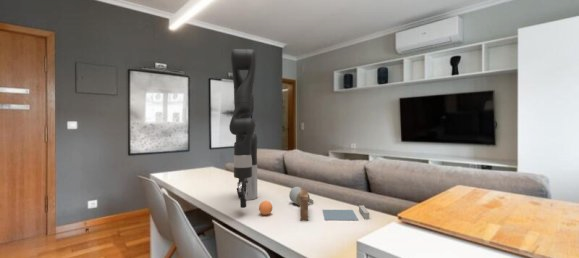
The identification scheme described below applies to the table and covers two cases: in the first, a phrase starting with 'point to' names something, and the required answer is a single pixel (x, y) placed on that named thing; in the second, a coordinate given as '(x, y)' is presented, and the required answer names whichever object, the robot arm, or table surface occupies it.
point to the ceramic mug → (297, 196)
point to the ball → (265, 207)
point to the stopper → (364, 212)
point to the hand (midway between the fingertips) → (243, 207)
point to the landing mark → (339, 215)
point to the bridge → (303, 204)
